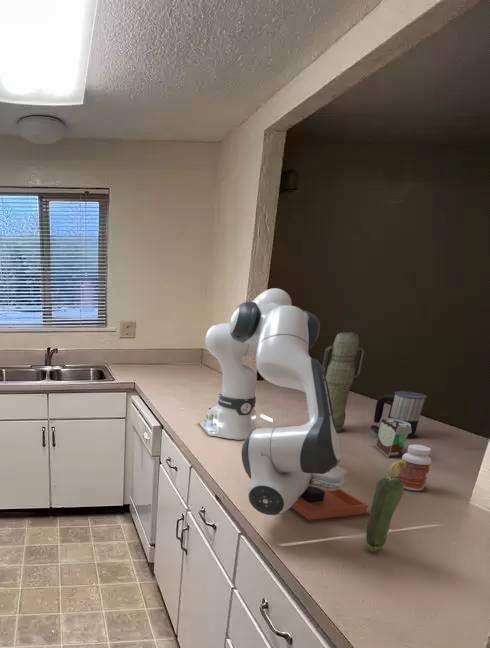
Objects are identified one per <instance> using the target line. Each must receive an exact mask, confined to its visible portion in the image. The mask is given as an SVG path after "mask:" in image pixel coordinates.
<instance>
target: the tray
mask: <svg viewBox="0 0 490 648" xmlns="http://www.w3.org/2000/svg"><path fill="white" fill-rule="evenodd" d="M319 489H320V488H319ZM321 490H323V491H324V492H325V495H324V500H323V501H317V502H308V501H306V500H305V499H303V498H302V497H300V496H299V498H298V500H297V501H296V502H295V503H294V504H293V505H292V506H291V507H290V508H291V509H293V510H294V511H295V512H297V513H299V514H300V515H301V516H302V517H304V519H306V520H308V521H312V520H319V519H328V518H336V517H345V516H353V515H363V514H367V513H368V509H369V507H370V506H369V504H367V503H366V502H364V501H363V500H361V499H360V498H359V499H358V498H357V497H355V496H354V495H351V494H350V493H349V492H347V491H345V490H343V489H342V488H340V489H337V490H334V491H329V490H324V489H321Z"/></svg>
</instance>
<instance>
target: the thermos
mask: <svg viewBox="0 0 490 648" xmlns="http://www.w3.org/2000/svg"><path fill="white" fill-rule="evenodd" d="M332 344H333V345H329V346H328V347H327V348H325V350H324V357H323V363H322V367H323V370H324V373H325V376H326V381H327V385H328V390H329V395H330V401H331V407H332V413H333V419H334V424H335V429H336V433H340V432H342V431H343V427H344V425H345V421H346V416H347V414H346V408H347V404H348V399H349V394H350V389H351V386H352V384H353V382H354V379H355V378H359V376H360V373H361V369H362V366H363V365H362V364H363V360H364V355H365V350H364V349H363V347H362V346H360V345H359V344H360V341H359V334H358V333H356V332H347V331H346V332H345V331H341V332H338V333H337V335H336V336H335V338H334V342H333V343H332ZM331 349H332V350H331ZM330 350H331V357H330V359H329V363H328V364H327V362H328V356H329V352H330ZM358 351H360V353H359V359H358V363H357V367H356V364H355V363H356V360H355V359H356V357H357V353H358Z"/></svg>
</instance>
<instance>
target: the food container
mask: <svg viewBox="0 0 490 648" xmlns="http://www.w3.org/2000/svg"><path fill="white" fill-rule="evenodd" d="M378 424H379V426H378V427H379V433H378V434H377V437H376V439H377V440H376V444H375V448H377V449H378V450H379V451H380V452H382V453H383V454H384V455H385V456H386V457H387V458H398V457H400V456H401V455H402V451H403V449H404V447H405V443H406V441H407V439H408V438H407V436H408V434H410V433H411V432H412V428H411V424H410V423H408V422H405V421H402V420H398V419H393V418H388V417H386V416H385V417H384V416H382V417H381V420H380V422H379V423H378Z"/></svg>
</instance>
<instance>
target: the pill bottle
mask: <svg viewBox="0 0 490 648" xmlns="http://www.w3.org/2000/svg"><path fill="white" fill-rule="evenodd" d="M431 452H432V448H431V447H428V446H425V445H421V444H409V445H408V447H407V452H405V453H404V454H402V457H401V460H405V461H406V462H407V463H406V467H405V468H404V467H403V465H401V471H400V474H399V475H400V476H397V477H399V478H400V479H401V480H402V482H403V486H404V489H405V490H409V491H423V490H424V489H425V486H426V482H427V479H428V475H429V472H430V467H431V465H432V458H431V457H430V455H431Z"/></svg>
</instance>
